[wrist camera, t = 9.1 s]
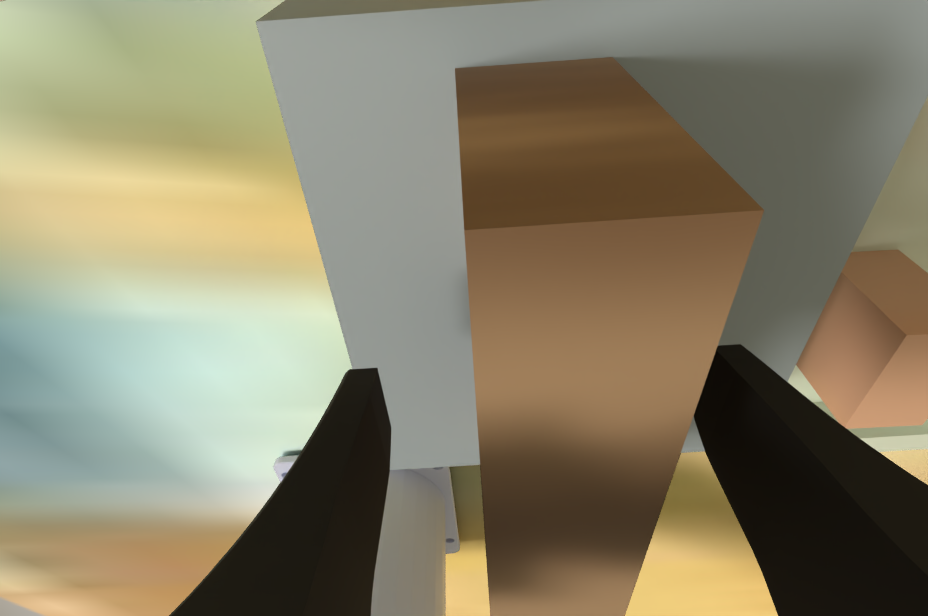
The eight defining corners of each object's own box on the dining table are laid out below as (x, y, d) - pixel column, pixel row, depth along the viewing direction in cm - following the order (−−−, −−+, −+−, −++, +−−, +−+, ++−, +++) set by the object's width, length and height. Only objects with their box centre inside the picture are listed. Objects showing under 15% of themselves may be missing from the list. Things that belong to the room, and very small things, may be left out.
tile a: (780, 342, 19) (846, 339, 19) (843, 428, 16) (922, 425, 16) (822, 253, 17) (898, 249, 17) (906, 335, 14) (999, 330, 14)
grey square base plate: (709, 365, 21) (754, 448, 18) (390, 385, 21) (381, 470, 18) (852, -53, 12) (991, -32, 9) (302, -13, 12) (255, 21, 9)
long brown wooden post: (569, 442, 17) (614, 645, 13) (479, 447, 17) (493, 652, 13) (612, 56, 10) (764, 210, 5) (454, 68, 10) (464, 230, 5)
